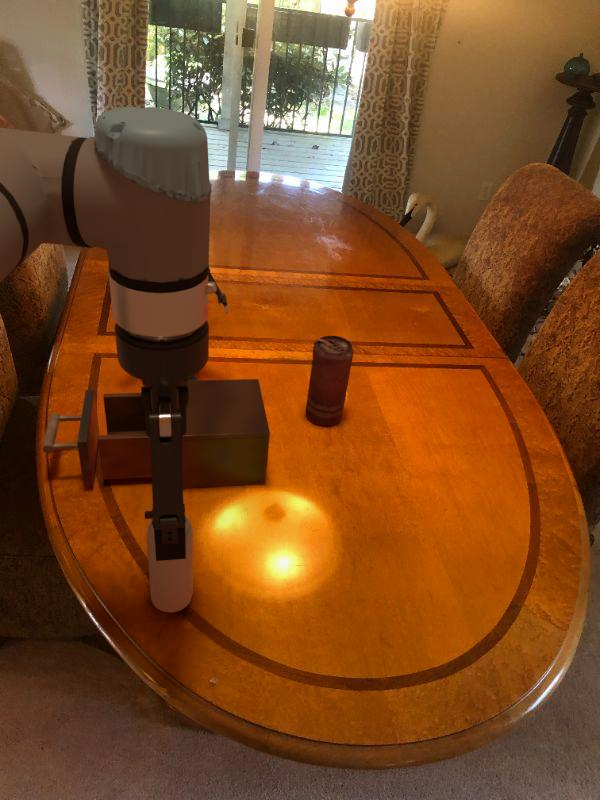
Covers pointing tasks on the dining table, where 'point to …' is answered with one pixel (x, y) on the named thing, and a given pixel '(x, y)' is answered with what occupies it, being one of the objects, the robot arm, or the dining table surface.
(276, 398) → the dining table surface
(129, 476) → the drawer
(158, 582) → the beverage can
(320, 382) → the dark brown cylinder
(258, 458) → the cabinet
